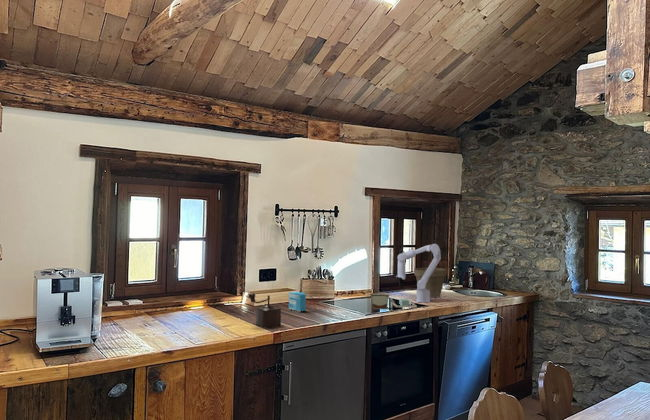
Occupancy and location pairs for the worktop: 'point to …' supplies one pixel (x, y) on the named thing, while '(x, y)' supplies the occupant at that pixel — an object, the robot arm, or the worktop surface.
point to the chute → (402, 306)
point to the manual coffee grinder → (266, 313)
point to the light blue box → (297, 301)
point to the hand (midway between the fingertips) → (401, 288)
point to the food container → (379, 300)
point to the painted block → (403, 302)
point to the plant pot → (432, 280)
